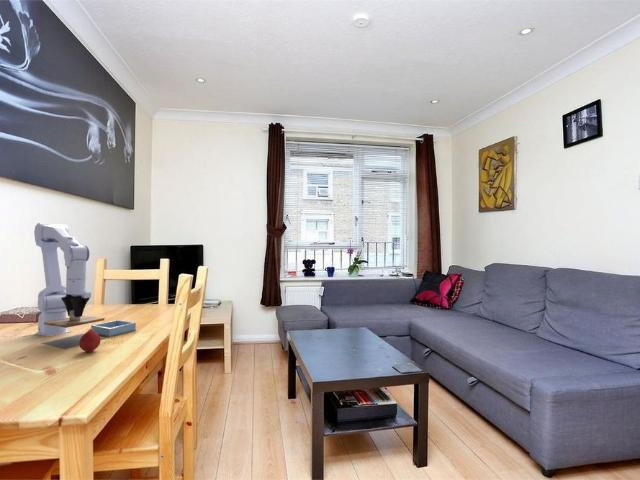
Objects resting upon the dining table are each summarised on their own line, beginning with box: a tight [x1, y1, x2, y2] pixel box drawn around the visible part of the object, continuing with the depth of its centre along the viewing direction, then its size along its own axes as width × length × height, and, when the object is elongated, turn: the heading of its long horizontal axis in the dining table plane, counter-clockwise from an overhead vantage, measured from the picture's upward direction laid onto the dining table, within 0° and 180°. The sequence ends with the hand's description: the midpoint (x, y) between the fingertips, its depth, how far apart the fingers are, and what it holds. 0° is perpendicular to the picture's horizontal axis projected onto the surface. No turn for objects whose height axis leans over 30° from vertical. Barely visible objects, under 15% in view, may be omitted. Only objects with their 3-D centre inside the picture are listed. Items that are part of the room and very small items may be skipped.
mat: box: [40, 333, 106, 350], centre depth 122 cm, size 14×14×1 cm
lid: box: [44, 310, 105, 329], centre depth 122 cm, size 13×13×4 cm
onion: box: [79, 327, 102, 353], centre depth 111 cm, size 6×6×8 cm
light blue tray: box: [90, 319, 137, 338], centre depth 135 cm, size 11×11×4 cm
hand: (75, 316), depth 122 cm, fingers closed on lid, 3 cm apart
